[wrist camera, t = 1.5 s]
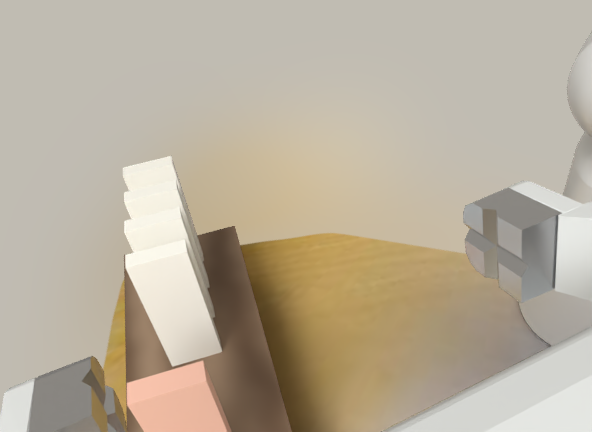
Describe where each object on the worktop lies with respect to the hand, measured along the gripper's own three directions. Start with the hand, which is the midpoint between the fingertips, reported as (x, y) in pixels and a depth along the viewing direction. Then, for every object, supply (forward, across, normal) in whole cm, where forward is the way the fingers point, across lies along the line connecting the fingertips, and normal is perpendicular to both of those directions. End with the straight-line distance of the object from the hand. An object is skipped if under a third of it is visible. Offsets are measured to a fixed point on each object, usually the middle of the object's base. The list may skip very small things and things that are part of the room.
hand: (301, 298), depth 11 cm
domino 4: (+34, -4, -27) cm, 43 cm away
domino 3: (+38, -3, -26) cm, 46 cm away
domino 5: (+22, -6, -30) cm, 37 cm away
